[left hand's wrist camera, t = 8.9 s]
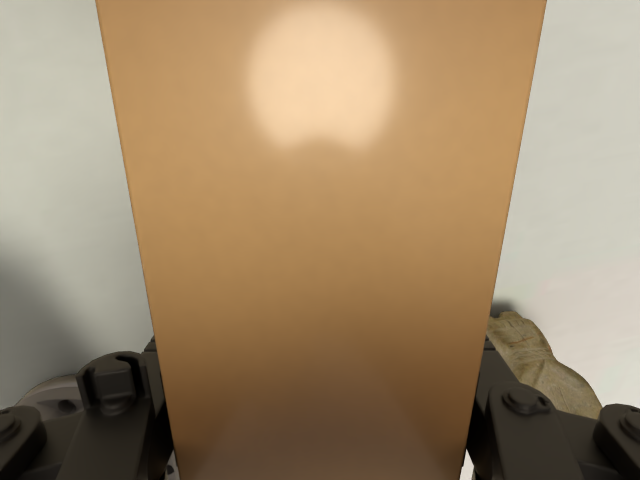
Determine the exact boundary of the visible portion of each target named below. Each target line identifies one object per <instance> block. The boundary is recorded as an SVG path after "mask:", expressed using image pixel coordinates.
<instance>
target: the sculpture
mask: <svg viewBox="0 0 640 480" xmlns="http://www.w3.org/2000/svg"><path fill="white" fill-rule="evenodd" d="M486 335H487V336H488V338H489V341H491V342H492V343H493V345H494V346H495V348H496V351H498V352H499V353H500V355H501V356H502V358H503V359H504V361H505V362H506V363H507V365H508V366H509V368H510V369H511V370H512V372H513V373H514V375H515V376H516V378H517V379H518V380H519V382H520V383H523V384H527V385H529V386H531V387H533V388H535V389H537V390H539V391H541V392H542V393H543V394H544V395H545V396H547V397H548V398H549V399H550V400H551V402H552V403H553V405H554V406H555V408H556V409H557V410H560V411H563V412H567V413H571V414H575V415H580V416H584V417H588V418H593V419H598V416H599V413H600V410H601V409H602V405H601V403H600V402H599V400H598V398H597V396H596V394H595V393H594V391H593V389H592V388H591V386H590V385H589V384H588V382H587V381H586V380H585V379H584V378H583V377H582V376H581V375H579V374H578V373H577V372H575V371H574V370H572V369H571V368H569V367H567V366H565V365H563V364H562V363H560V362H558V361H557V360H556V358H555V357H554V356H553V353H552V350H551V347H550V345H549V344H548V342H547V340H546V338H545V337H544V335H543V334H542V332H541V331H540V330H539V328H538V327H537V326H536V325H535V324H534V323H533V322H532V321H531V320H529V319H525V318H522V317H521V316H520V315H519V314H518V313H517V312H515V311H506V312H501V313H500V314H499V316H498V318H493V317H491V316H489V321H488V326H487V332H486Z"/></svg>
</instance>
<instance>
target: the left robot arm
mask: <svg viewBox="0 0 640 480" xmlns="http://www.w3.org/2000/svg"><path fill="white" fill-rule="evenodd" d="M466 448H467V451H468V453H469V455H470V458H471V460H472V463H473V465H474V469H473V474H472V480H640V409H639V408H636V407H633V406H630V405H623V404H610V405H606V406H605V407H603V408H602V409H601V410H600V413H599V416H598V419H593V418H588V417H584V416H580V415H575V414H571V413H567V412H563V411H560V410H557V409H556V408H555V406H554V405H553V403H552V402H551V400H550V399H549V398H548V397H547V396H545V395H544V394H543V393H542V392H541V391H539V390H537V389H535V388H533V387H531V386H529V385H527V384H523V383H520V382H519V380H518V379H517V378H516V376H515V375H514V373H513V372H512V370H511V369H510V368H509V366H508V365H507V363H506V362H505V361H504V359H503V358H502V356H501V355H500V353H499V352H498V351H496V348H495V346H494V345H493V343H492V342H491V341H489V338H488V336H487V335H486V337H485V343H484V348H483V354H482V359H481V365H480V370H479V376H478V381H477V387H476V392H475V398H474V403H473V409H472V414H471V420H470V425H469V431H468V436H467V442H466V447H465V453H464V458H463V463H462V467H463V465H464V459H465V454H466ZM0 480H180V478H179V473H178V467H177V461H176V456H175V450H174V444H173V438H172V433H171V427H170V421H169V416H168V410H167V404H166V399H165V393H164V387H163V382H162V376H161V370H160V365H159V359H158V353H157V348H156V342H155V336H153V338H152V339H151V342H149V343H148V345H147V346H146V348H145V349H144V352H142V353H141V354H139V353H135V352H131V351H123V352H115V353H111V354H107V355H104V356H102V357H99V358H97V359H95V360H93V361H91V362H90V363H88V364H87V365H86V366H84V367H83V368H82V369H81V370H80V371H79V373H78V374H74V375H66V376H61V377H57V378H53V379H50V380H48V381H45V382H43V383H41V384H39V385H37V386H36V387H34V388H33V389H32V390H30V391H29V392H28V393H27V394H26V395H25V396H24V397H23V398H22V399H21V400H20V401H19V402H18V403H17V404H16V405H15V406H14V407H9V408H6V409H3V410H0Z"/></svg>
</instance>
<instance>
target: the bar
mask: <svg viewBox="0 0 640 480" xmlns="http://www.w3.org/2000/svg"><path fill="white" fill-rule="evenodd" d="M95 2H96V7H97V13H98V19H99V24H100V30H101V36H102V41H103V47H104V53H105V58H106V64H107V70H108V75H109V81H110V87H111V92H112V98H113V104H114V109H115V115H116V121H117V126H118V132H119V138H120V144H121V149H122V155H123V161H124V166H125V172H126V178H127V183H128V189H129V195H130V200H131V206H132V212H133V217H134V223H135V229H136V234H137V240H138V246H139V251H140V257H141V263H142V268H143V274H144V280H145V285H146V291H147V297H148V302H149V308H150V314H151V319H152V325H153V331H154V336H155V342H156V348H157V353H158V359H159V365H160V370H161V376H162V382H163V387H164V393H165V399H166V404H167V410H168V416H169V421H170V427H171V433H172V438H173V444H174V450H175V456H176V461H177V467H178V473H179V478H180V480H460V474H461V469H462V463H463V458H464V453H465V447H466V442H467V436H468V431H469V425H470V420H471V414H472V409H473V403H474V398H475V392H476V387H477V381H478V376H479V370H480V365H481V359H482V354H483V348H484V343H485V337H486V332H487V326H488V321H489V315H490V310H491V304H492V299H493V293H494V288H495V282H496V277H497V271H498V266H499V260H500V255H501V249H502V244H503V238H504V233H505V227H506V222H507V217H508V211H509V206H510V200H511V195H512V189H513V184H514V178H515V173H516V167H517V162H518V156H519V151H520V145H521V140H522V134H523V129H524V123H525V118H526V112H527V107H528V101H529V96H530V90H531V85H532V79H533V74H534V68H535V63H536V57H537V52H538V46H539V41H540V35H541V30H542V24H543V19H544V13H545V8H546V2H547V0H95Z"/></svg>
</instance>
